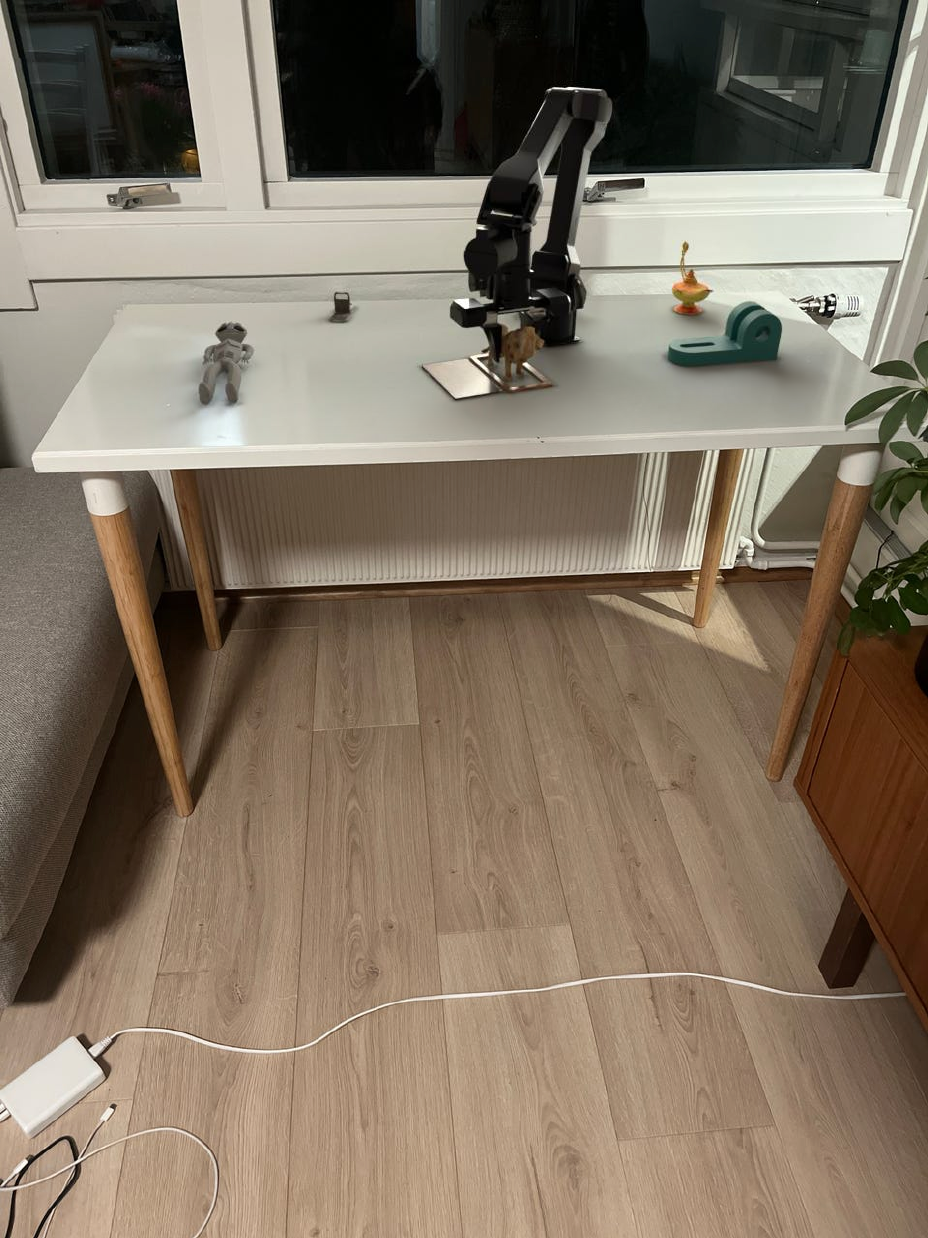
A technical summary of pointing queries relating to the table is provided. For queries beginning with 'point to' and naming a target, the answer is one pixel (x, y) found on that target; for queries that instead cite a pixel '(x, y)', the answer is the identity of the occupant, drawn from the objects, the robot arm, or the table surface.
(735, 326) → the bracket
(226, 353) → the alien figure
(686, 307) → the magic lamp
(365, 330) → the table surface
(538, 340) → the lion figurine
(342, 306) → the strap clip
